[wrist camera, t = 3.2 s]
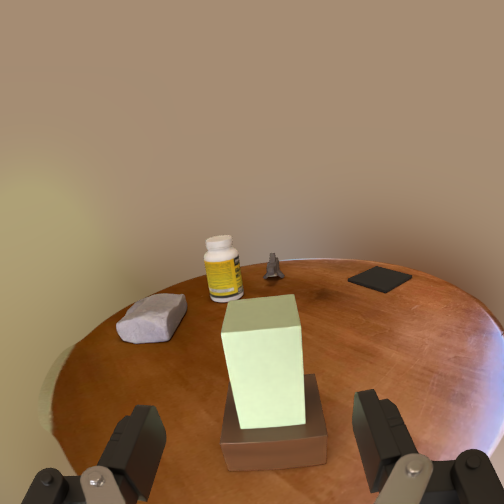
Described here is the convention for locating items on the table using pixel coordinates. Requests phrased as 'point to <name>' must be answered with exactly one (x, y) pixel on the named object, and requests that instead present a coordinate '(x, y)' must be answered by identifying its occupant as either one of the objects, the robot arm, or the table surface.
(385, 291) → the mat
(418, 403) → the table surface
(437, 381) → the table surface
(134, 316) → the stone block
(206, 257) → the pill bottle
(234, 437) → the walnut block
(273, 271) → the animal figurine
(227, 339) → the sage block
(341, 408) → the table surface
